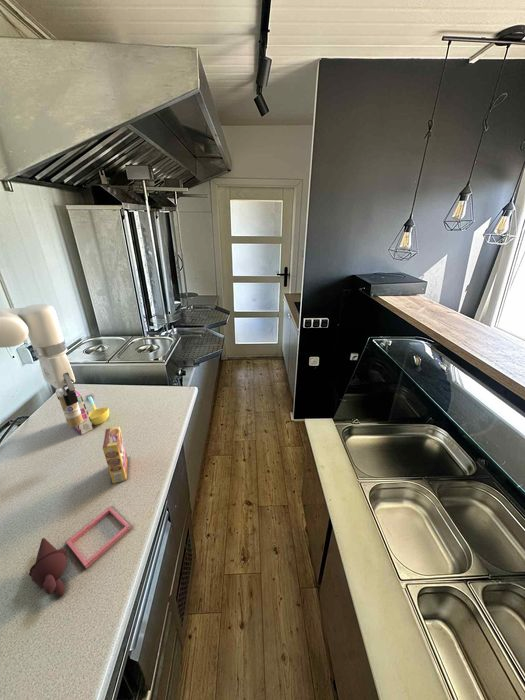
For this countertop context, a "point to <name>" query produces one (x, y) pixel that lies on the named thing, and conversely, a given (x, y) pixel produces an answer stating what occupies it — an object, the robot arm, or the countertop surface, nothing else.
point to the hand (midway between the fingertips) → (68, 400)
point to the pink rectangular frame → (107, 545)
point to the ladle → (98, 413)
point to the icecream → (49, 568)
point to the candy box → (115, 454)
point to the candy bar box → (83, 416)
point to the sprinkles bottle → (70, 410)
